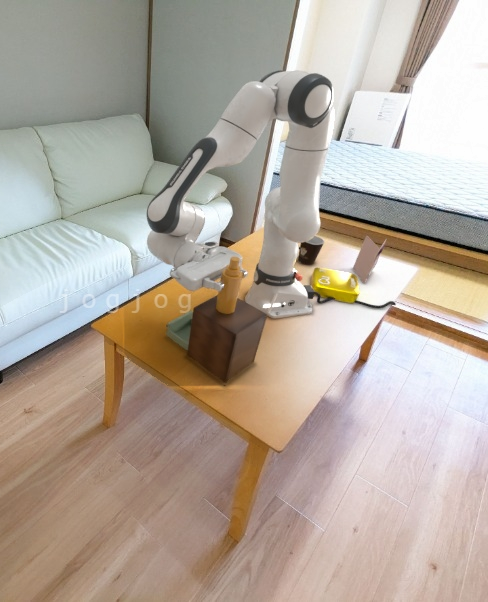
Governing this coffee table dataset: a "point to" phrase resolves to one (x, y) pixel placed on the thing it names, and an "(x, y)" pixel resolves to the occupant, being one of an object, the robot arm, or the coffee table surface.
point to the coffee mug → (310, 250)
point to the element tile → (335, 285)
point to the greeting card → (367, 259)
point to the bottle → (229, 287)
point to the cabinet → (225, 337)
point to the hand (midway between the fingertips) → (234, 281)
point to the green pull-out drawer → (180, 329)
